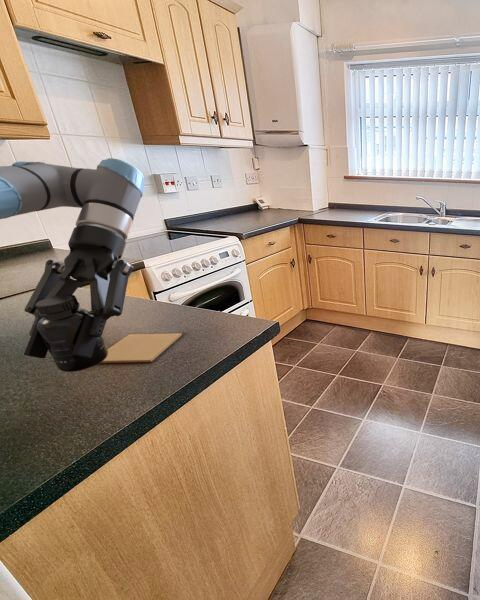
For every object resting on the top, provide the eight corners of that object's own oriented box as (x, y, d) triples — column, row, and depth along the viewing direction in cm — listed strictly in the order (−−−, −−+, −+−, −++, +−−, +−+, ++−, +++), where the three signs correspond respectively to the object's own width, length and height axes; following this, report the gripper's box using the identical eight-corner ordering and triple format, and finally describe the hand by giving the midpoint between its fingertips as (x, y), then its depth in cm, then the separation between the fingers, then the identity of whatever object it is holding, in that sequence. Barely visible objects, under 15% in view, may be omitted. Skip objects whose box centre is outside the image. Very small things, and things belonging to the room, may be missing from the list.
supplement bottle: (83, 350, 62) (56, 291, 58) (119, 351, 62) (95, 291, 57) (46, 373, 56) (13, 308, 51) (86, 374, 56) (56, 309, 51)
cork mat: (91, 363, 68) (90, 361, 68) (130, 335, 78) (129, 334, 78) (151, 362, 68) (150, 360, 68) (182, 335, 78) (181, 333, 78)
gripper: (167, 244, 67) (136, 360, 58) (66, 244, 66) (19, 361, 58) (141, 222, 60) (101, 350, 51) (27, 223, 59) (-32, 351, 51)
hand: (58, 356), depth 55 cm, fingers closed on supplement bottle, 7 cm apart
